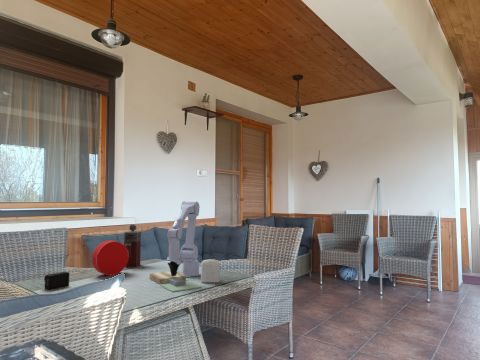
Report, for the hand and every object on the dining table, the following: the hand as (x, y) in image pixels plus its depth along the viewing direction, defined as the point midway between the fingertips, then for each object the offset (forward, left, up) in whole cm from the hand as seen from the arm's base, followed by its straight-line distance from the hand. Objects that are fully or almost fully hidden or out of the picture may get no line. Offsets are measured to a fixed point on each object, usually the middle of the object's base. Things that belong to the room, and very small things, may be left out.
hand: (173, 275), depth 186 cm
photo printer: (-18, +8, -4) cm, 20 cm away
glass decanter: (+5, -59, -4) cm, 60 cm away
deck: (0, -9, -4) cm, 9 cm away
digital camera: (+53, -25, -4) cm, 59 cm away
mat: (0, +8, -4) cm, 9 cm away
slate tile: (0, +4, -3) cm, 6 cm away
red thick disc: (+23, -41, -4) cm, 47 cm away
